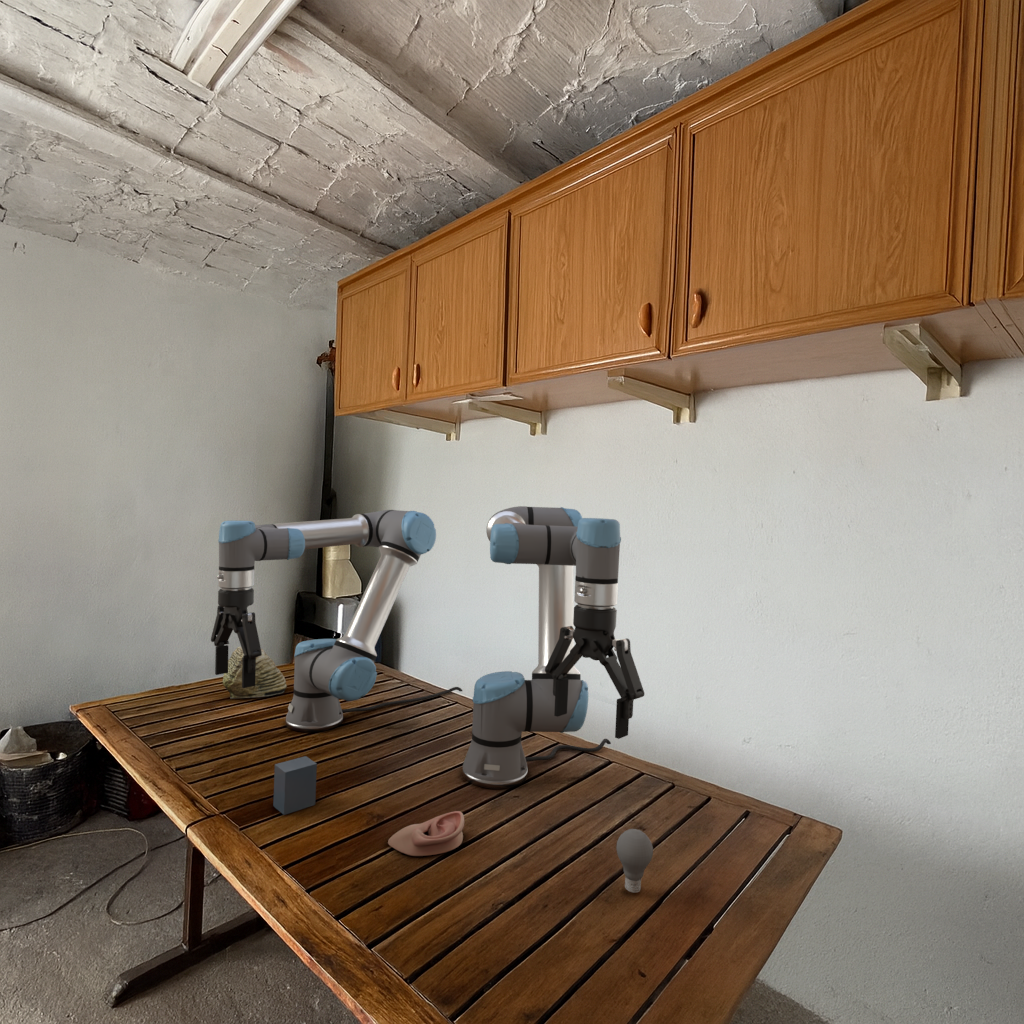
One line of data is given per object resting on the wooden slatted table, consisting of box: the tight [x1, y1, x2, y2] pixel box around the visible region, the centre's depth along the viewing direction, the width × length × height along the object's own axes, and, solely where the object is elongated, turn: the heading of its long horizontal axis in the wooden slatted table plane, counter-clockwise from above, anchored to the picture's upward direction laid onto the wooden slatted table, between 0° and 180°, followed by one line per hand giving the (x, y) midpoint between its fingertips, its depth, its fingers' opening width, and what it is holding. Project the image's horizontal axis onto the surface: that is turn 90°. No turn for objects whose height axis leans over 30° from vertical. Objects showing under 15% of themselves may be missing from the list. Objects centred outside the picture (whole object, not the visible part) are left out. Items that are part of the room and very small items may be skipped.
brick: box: [272, 755, 318, 816], centre depth 130 cm, size 5×7×9 cm
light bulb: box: [615, 828, 654, 894], centre depth 106 cm, size 6×6×10 cm
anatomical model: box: [387, 810, 465, 857], centre depth 118 cm, size 13×4×12 cm
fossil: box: [222, 646, 288, 699], centre depth 198 cm, size 9×18×15 cm, turn 132°
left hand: (234, 680), depth 146 cm, fingers open, 13 cm apart
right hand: (589, 725), depth 112 cm, fingers open, 13 cm apart
